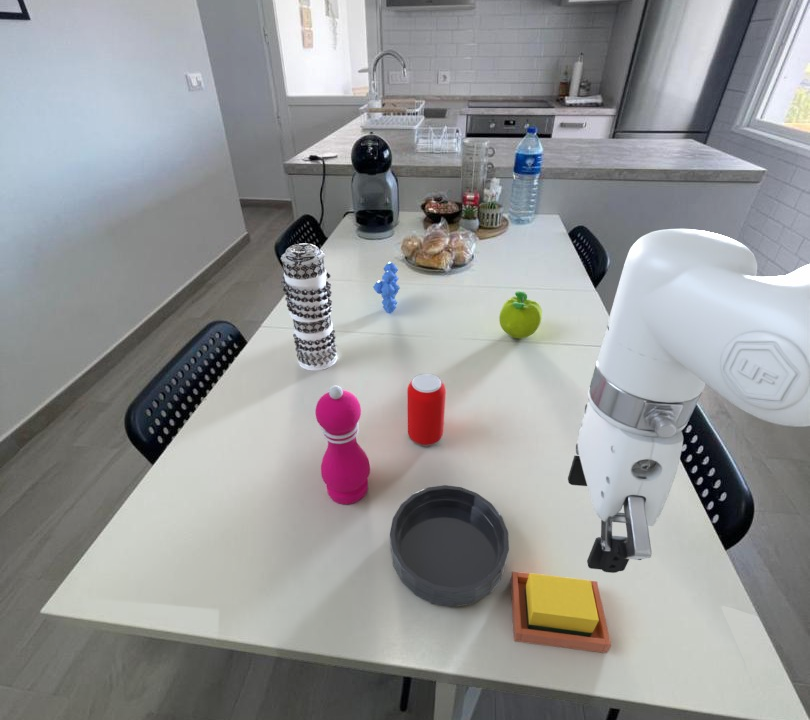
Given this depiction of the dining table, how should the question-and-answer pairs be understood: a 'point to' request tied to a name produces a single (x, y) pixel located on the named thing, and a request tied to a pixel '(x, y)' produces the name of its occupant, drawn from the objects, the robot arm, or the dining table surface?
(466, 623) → the dining table surface
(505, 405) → the dining table surface
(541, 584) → the sponge
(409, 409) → the beverage can
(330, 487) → the pepper mill
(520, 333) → the fruit
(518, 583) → the soap dish
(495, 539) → the pan
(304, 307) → the decorative candle
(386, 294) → the grapes
